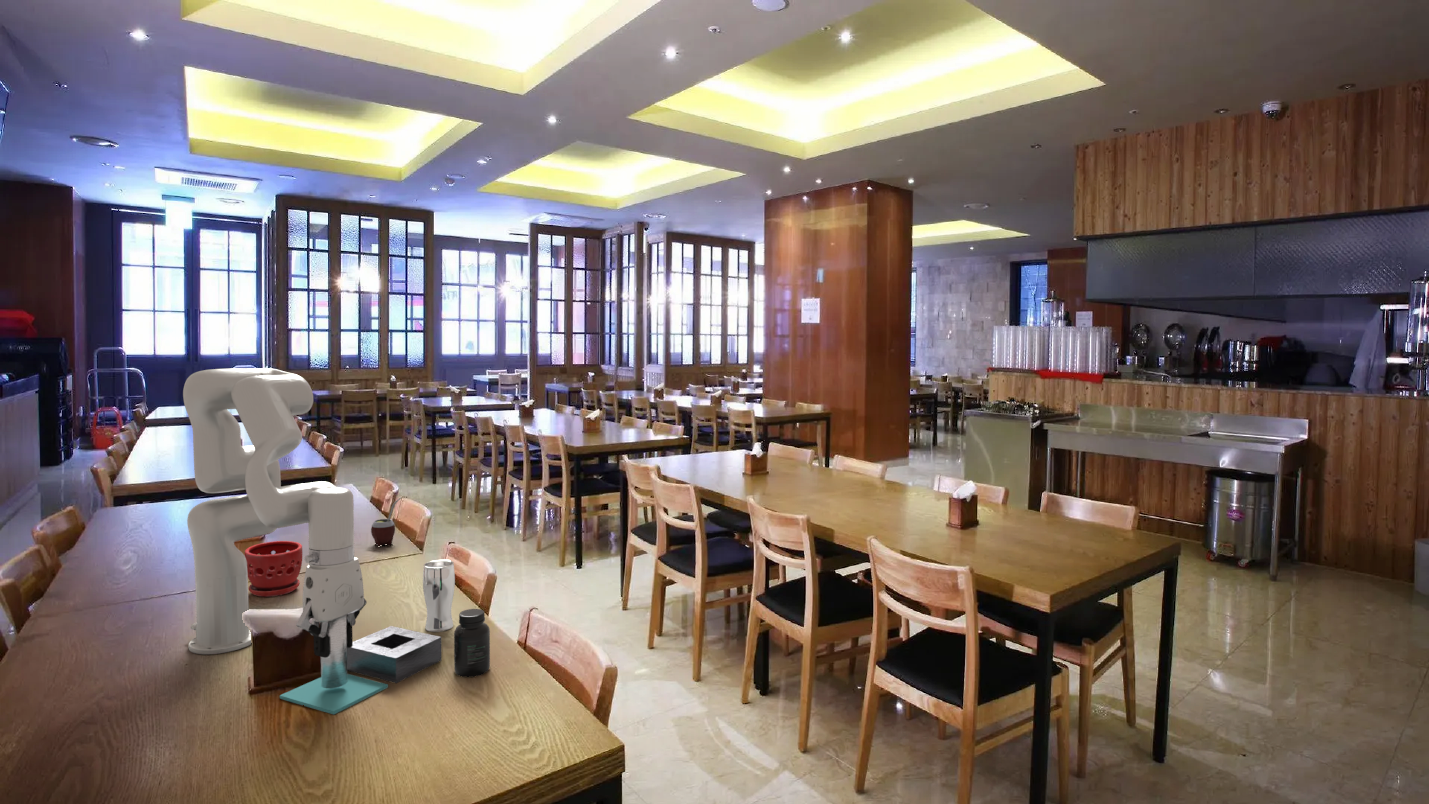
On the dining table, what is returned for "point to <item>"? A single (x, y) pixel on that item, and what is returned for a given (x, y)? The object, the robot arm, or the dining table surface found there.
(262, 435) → the robot arm
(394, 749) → the dining table surface
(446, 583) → the beer glass
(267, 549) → the plant pot
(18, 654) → the dining table surface
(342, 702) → the teal mat
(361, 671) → the block
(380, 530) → the mate gourd
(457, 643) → the supplement bottle
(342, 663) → the steel peg
